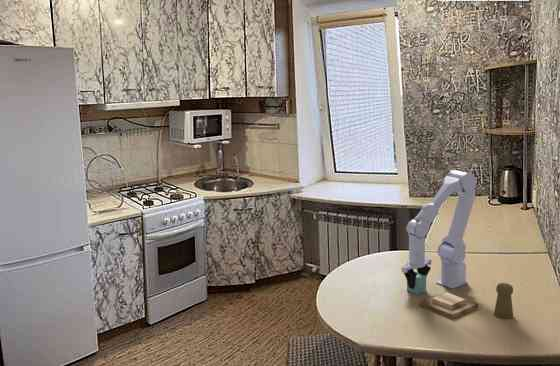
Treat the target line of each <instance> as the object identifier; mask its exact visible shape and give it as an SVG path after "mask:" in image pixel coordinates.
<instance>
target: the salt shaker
mask: <svg viewBox="0 0 560 366" xmlns="http://www.w3.org/2000/svg"><path fill="white" fill-rule="evenodd" d="M495 290H496V293H497V294H496V295H497V296H496V301H495V306H494V312H493V316H494V317H495V318H497V319H501V320H511V319H513V318H514V313H513V312H514V310H513V309H514V308H513V302H512V301H513V299H512V298H513V297H512V295H513V293H514V287H513V285H511V284H509V283H506V282H501V283H498V284H497V285H496V289H495Z"/></svg>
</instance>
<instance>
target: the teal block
mask: <svg viewBox="0 0 560 366" xmlns="http://www.w3.org/2000/svg"><path fill="white" fill-rule="evenodd" d="M415 272H416V273H417V276H416V279H415V287H414V289H411V288H409V286H408V282H407V281H406V291H408V292H411V293H414V294H416V295H418V294H421V293H424V292H426V291H427V277H426V275H423V274H420V273H418V272H417V271H415Z"/></svg>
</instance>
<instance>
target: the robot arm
mask: <svg viewBox="0 0 560 366" xmlns="http://www.w3.org/2000/svg"><path fill="white" fill-rule="evenodd" d="M477 183H478V180H477V178H476V177H475V175H474V174H473V173H472V172H464V171H460V170H457V169H452V170H449V172H448V173H447V175H446V176H445V177H444V178H443V183H442V185H441V187H440V188H439V190H437V193H436V194H435V195H434V197H433V198H432V200H431V202H429V203H428V202H427V203H426V204H424V205H422V207H421V210H420V211H419V212H418V213H417V215H416V216H415V217H414V219H411V220H410V221H408V223H407V225H406V226H405V231H406V232H407V233H408V260H407V263H406V264H404V265H402V266H401V273H402V274H404V276H405V279H406V283H407V282H408V286H409V288H411V289H414V287H415V279H416V276H417V273H420V274H423V275H426V278H427V276H428V274H429V273H430V271H431V266H430V265H432V259H431V258H426V255H425V254H426V236H427V235H428V234H429V231H430V227H431V224H432V223H433V221H434V220H435V219H436V218H437V216H438V215H439V211H440V210H439V209H440V208H441V206H442V205H443V204H444V203H445V201H447V200H448V198H449V197H451V195H452V194H453V193H454V194H455V193H457V195H458V200H457V202H456V207H455V211H454V214H453V218H452V221H451V224H450V227H449V230H448V234H447V235H446V236H445V237H443V238H442V240H441V242H440V244H439V245H438V247H437V255H438V257H440V261H441V263H440V265H441V266H440V279H439V280H437V281H435V283H436V284H437V285H440V286H444V287H446V288H449V289H455V288H458V287H460V286H463V285H466V284H468V280H467V264H466V263H465V258H466V248H467V246H466V243H465V242H464V240H463V239H464V235H465V232H466V229H467V225H468V222H469V218H470V215H471V211H472V208H473V204H474V201H475V199H476V186H477ZM414 270H417V271H414ZM416 272H417V273H416Z"/></svg>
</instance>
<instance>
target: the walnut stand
mask: <svg viewBox="0 0 560 366" xmlns="http://www.w3.org/2000/svg"><path fill="white" fill-rule="evenodd" d="M419 307H422V308H425V309H427V310H429V311H432V312H434V313H437V314H439V315H441V316H444V317H447V318H449V319H451V320H453V319H456V318H458V317H459V316H462V315H465V314H467V313H469V312H472V311H474V310H477V309H479V303H477V302H475V301H471V300H470V299H467V298H464V297H462V296H458V295H456V294H453V293H450V292H447V291H443V292H441V293H438V294H436V295H434V296H430V297H428V298H425V299H422V300H420V301H419Z"/></svg>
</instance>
